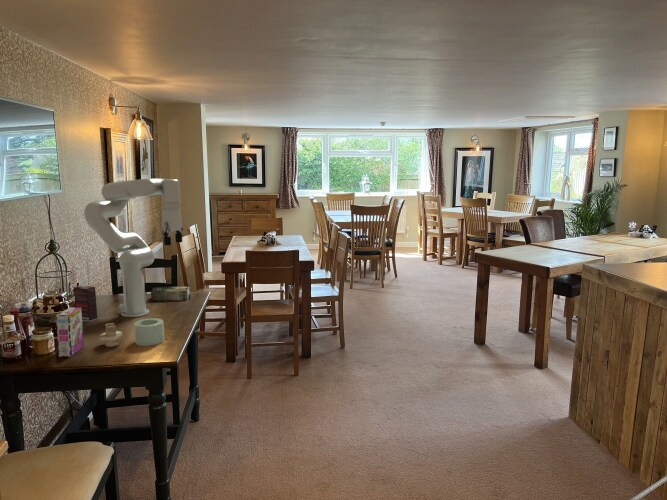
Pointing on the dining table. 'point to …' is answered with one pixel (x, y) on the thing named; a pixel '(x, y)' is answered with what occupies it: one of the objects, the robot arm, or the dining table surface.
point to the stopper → (111, 335)
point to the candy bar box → (69, 332)
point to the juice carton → (170, 293)
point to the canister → (149, 331)
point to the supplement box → (86, 302)
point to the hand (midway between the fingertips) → (173, 243)
